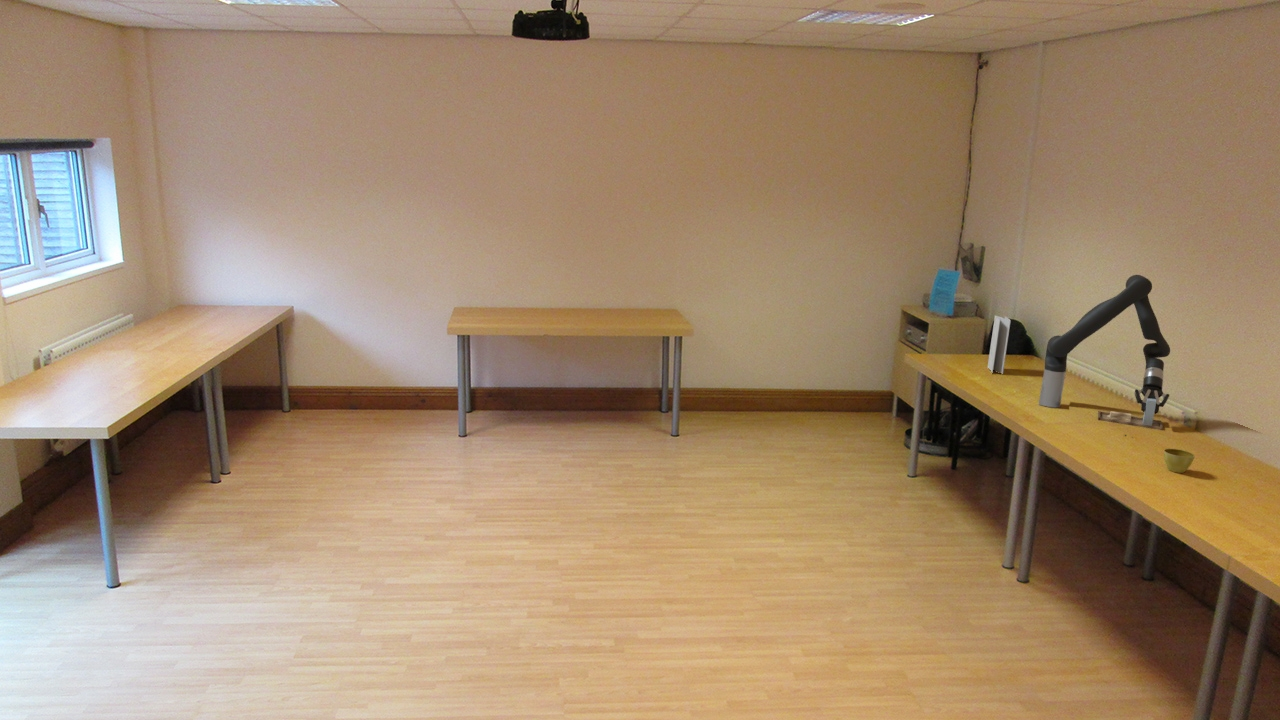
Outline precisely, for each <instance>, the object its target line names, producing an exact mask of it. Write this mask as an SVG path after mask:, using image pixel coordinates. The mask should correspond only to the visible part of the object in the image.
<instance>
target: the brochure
mask: <svg viewBox="0 0 1280 720" xmlns="http://www.w3.org/2000/svg"><path fill="white" fill-rule="evenodd" d="M1011 322H1012V321H1011V319H1010V318H1009V317H1007V316H1006V315H1005V316H1004V317H1001V316H998V315H995V314H994V320H993V327H992V335H991V341H990V347H989V354H988V363H987V369H988V368H989V369H990V370H991V372H992V373H993V374H994V372H995V371H997V372H999V373H1002V374H1003V375H1004V369H1005V363H1006V362H1005V361H1006V357H1007V348H1008V342H1009V334H1010V327H1011ZM993 370H995V371H993ZM991 372H990V373H991ZM997 372H996V373H997ZM992 373H991V374H992ZM999 373H998V374H999Z"/></svg>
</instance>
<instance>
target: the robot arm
mask: <svg viewBox="0 0 1280 720" xmlns="http://www.w3.org/2000/svg"><path fill="white" fill-rule="evenodd" d="M1152 290H1153V283H1152V281H1151V280H1150V279H1149V278H1147V277H1145V276H1143V275H1141V274H1133V275H1131V276H1130V277H1128V278H1127V279H1126V282H1125V289H1123V290H1122V291H1120V292H1119V293H1118V294H1117V295H1114V297H1113V296H1112V297H1111V298H1109V299H1107V300H1105V301H1103V302H1101V303H1098V304H1097V305H1096V306H1094V307H1092V308H1091V309H1090V310H1088V311H1087V312H1086V313H1085V314H1084V315H1083V316H1082V317H1081V318H1080V319H1079V320H1078V321H1077V323H1076V324H1075V325H1074V326H1073V327H1072V328H1071V329H1070V330H1068V331H1067V332H1065V333H1064V334H1062V335H1060V334H1059V335H1058V334H1057V335H1054V336H1052V337H1051V338H1050V339H1049V340H1048V342H1047V344H1046V345H1047V346H1046V352H1045V356H1044V358H1045V359H1044V370H1043V374H1042V375H1043V377H1042V380H1041V382H1042V383H1041V388H1040V394H1039V399H1038V406H1042V407H1043V406H1044V407H1048V408H1060V407H1061V402H1062V397H1063V391H1064V384H1065V379H1066V372H1067V365H1068V364H1067V361H1068V360H1067V359H1068V355H1069V354H1070V353H1071V351H1073V350H1074V348H1077V346H1078V345H1079V344H1080V343H1082V342H1083V341H1084V340H1086V339H1088V338H1089V337H1091V336H1092V335H1094V334H1095V333H1096V332H1098V331H1099V330H1101V329H1102V328H1103V327H1104V326H1106V325H1108V323H1110V322H1112V321H1113V319H1115V318H1117V317H1118V316H1119V315H1120V314H1122V313H1123V312H1124V311H1125V310H1126V309H1128V308H1129V307H1131V306H1132V305H1133V306H1134V308H1135V311H1136V314H1137V315H1136V316H1137V318H1138V321H1139V325H1140V329H1141V332H1142V333H1141V334H1142V335H1143V336H1142V337H1143V338H1144V339H1145V340H1148V341H1155V342H1149V343H1146V344H1144V346H1143V349H1142V352H1143V357H1144V360H1145V370H1144V374H1143V381H1142V382H1143V383H1142V388H1141V390H1140V389H1137V388H1136V389H1135V390H1134V397H1135V400H1136V402H1137V404H1140V405H1141V407H1140V408H1141V411H1142V413H1144V412H1145V407H1146V400H1147V398H1152V399H1156V406H1155V412H1154V415H1157V414H1158V413H1159V411H1160V407H1161V408H1164V407H1165V405H1166V403H1167V401H1168V400H1169V398H1170V394H1169V393H1164V392H1163V386H1164V384H1163V383H1164V367H1165V363H1164V361H1163V360H1162V359H1161V358H1166V357H1168V356H1169V355H1171V354H1170V353H1171V347H1170V345H1169V342H1167V340H1166V339H1165V337H1164V336H1163V334H1162V331H1161V328H1160V325H1159V321H1158V318H1157V316H1156V314H1155V312H1154V309H1153V307H1152V305H1151V302H1150V299H1149V294H1150V293H1151V292H1152ZM1141 394H1142V396H1143V399H1142V398H1141ZM1161 397H1162V400H1161V402H1160V398H1161Z"/></svg>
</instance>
